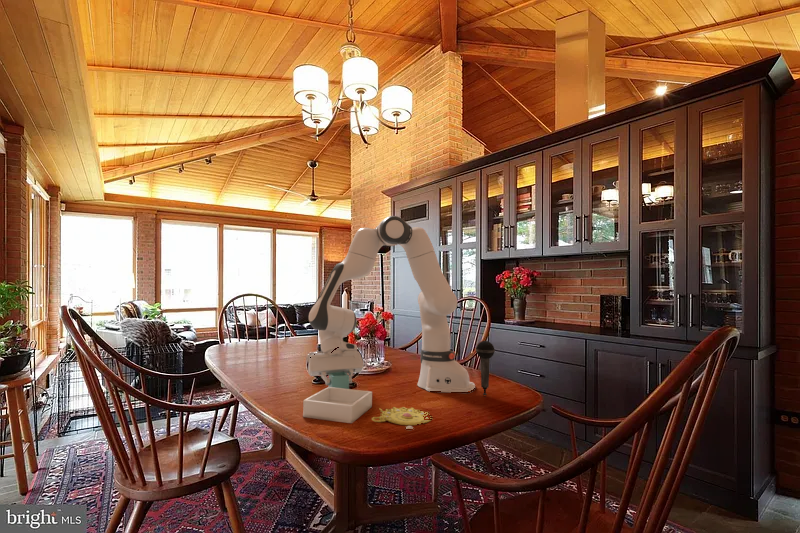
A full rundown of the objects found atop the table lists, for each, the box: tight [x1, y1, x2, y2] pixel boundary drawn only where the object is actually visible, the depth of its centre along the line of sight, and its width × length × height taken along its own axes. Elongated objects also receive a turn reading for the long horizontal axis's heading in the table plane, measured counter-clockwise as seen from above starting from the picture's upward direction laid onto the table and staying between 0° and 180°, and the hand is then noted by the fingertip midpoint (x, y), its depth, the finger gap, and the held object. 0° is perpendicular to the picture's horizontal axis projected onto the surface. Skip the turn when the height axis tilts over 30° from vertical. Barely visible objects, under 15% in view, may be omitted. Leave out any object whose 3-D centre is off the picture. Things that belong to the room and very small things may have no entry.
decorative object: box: [371, 406, 432, 430], centre depth 123 cm, size 21×2×20 cm
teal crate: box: [328, 372, 350, 389], centre depth 145 cm, size 6×6×8 cm
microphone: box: [475, 340, 496, 395], centre depth 146 cm, size 7×7×20 cm
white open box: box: [302, 386, 373, 424], centre depth 127 cm, size 16×16×5 cm
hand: (339, 383), depth 144 cm, fingers open, 6 cm apart
